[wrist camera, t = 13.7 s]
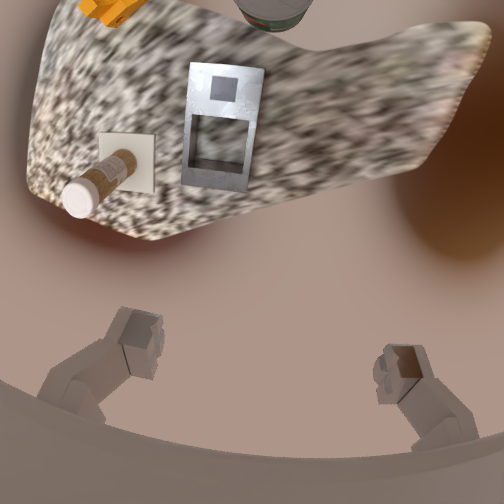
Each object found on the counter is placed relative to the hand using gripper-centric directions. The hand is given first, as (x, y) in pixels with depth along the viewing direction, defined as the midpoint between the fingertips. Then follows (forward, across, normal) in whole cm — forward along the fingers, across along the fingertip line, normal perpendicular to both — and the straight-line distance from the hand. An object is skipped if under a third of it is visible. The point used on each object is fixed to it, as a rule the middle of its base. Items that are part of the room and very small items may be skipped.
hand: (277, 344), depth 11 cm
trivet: (+34, +21, +7) cm, 41 cm away
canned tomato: (+34, +3, -17) cm, 38 cm away
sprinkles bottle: (+34, +21, +7) cm, 40 cm away
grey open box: (+34, +7, 0) cm, 35 cm away
